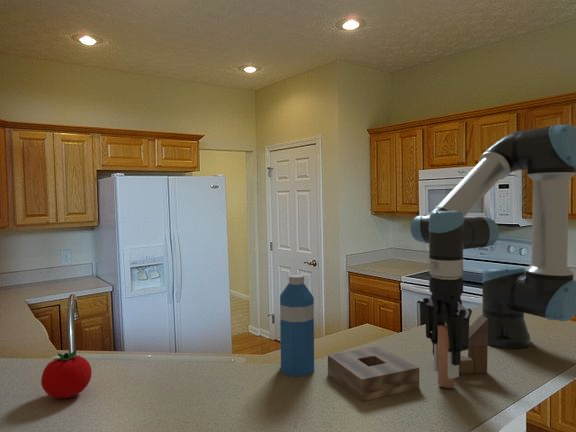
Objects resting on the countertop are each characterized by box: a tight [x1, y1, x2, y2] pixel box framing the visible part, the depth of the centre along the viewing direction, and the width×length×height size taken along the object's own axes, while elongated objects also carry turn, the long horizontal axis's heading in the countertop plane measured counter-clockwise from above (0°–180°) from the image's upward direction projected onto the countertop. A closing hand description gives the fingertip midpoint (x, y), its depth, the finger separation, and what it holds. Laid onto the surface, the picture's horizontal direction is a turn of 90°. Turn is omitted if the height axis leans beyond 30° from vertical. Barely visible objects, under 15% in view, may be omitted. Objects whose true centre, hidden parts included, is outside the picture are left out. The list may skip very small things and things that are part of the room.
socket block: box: [327, 345, 420, 402], centre depth 104 cm, size 16×16×5 cm
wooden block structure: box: [445, 314, 489, 375], centre depth 109 cm, size 4×11×18 cm, turn 95°
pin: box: [437, 324, 456, 389], centre depth 100 cm, size 4×4×14 cm
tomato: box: [40, 350, 93, 399], centre depth 98 cm, size 10×10×10 cm
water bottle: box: [279, 274, 315, 377], centre depth 111 cm, size 9×9×25 cm
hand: (446, 373), depth 100 cm, fingers closed on pin, 4 cm apart
